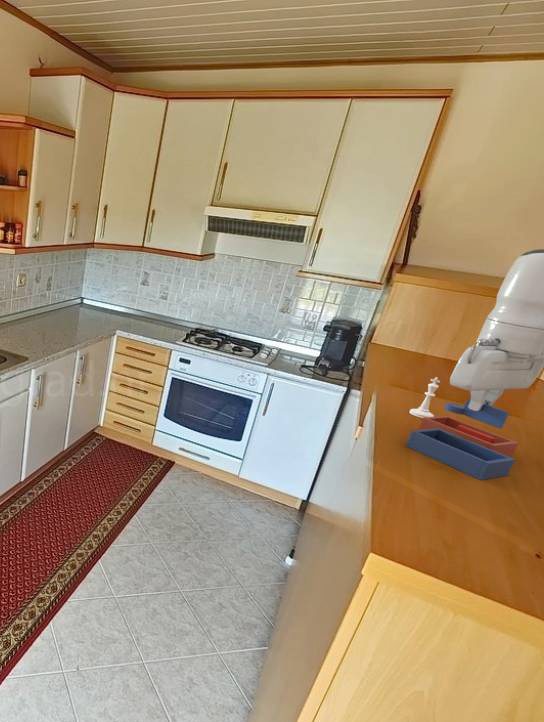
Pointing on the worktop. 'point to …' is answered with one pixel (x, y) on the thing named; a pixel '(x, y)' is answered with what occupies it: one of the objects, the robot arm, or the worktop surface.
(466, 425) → the red bin
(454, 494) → the worktop surface
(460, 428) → the red block
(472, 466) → the blue bin
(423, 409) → the chess piece
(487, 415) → the blue flat paddle
